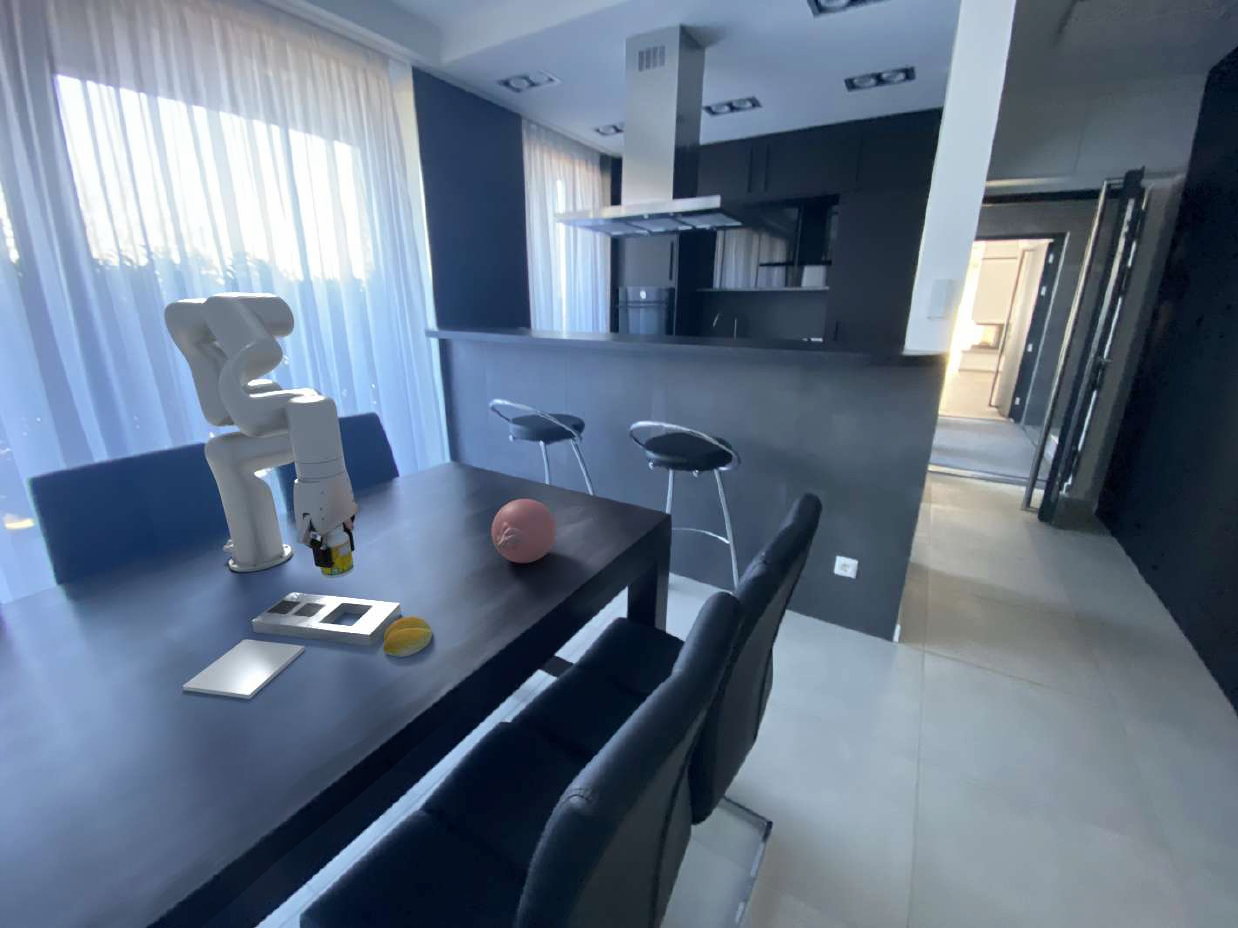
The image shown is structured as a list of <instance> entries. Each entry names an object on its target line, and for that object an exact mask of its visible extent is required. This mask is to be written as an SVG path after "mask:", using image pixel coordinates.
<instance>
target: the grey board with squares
mask: <svg viewBox="0 0 1238 928" xmlns="http://www.w3.org/2000/svg"><path fill="white" fill-rule="evenodd" d="M343 614H353V615H362V617H360V619H358V620H357V621H356V622H355V623H354V624H353V625H352V626H347V625H339V624H333V623H334V622H335V621H337V620H338V619H339V618H340V617H341V616H342V615H343ZM401 615H402V609H401V603H400V602H388V601H380V600H379V601H378V600H371V599H361V598H351V597H341V596H333V595H321V594H313V593H312V594H311V593H303V592H293V591H292V592H290V593H288V594H287V595H286V596H284V597H283V598H282V599H280V600H279V601H278V602H276V603H274V605H272V606H270V607H269V608H268V609H266V610H265V611H263V612H262V613H261V614H260V615H258V616H257V617H255V618H254V619H253V620H251V623H252V629H253V632H254V633H259V634H265V635H266V634H267V635H275V636H282V637H283V636H284V637H294V638H299V639H301V638H302V639H309V640H311V639H312V640H319V641H325V642H326V641H327V642H335V643H336V642H337V643H344V644H354V645H361V646H362V645H363V646H370V647H371V646H372V645H373V644H375V642H376V641H377V640H378V639H379V638H380V637H381V636H382V635H384V634H385V632H386V630H387V628H388V627H389V626H390V625H392V624H393V623H394V622H395V621H397V620H398V618H399V617H400V616H401Z"/></svg>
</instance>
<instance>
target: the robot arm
mask: <svg viewBox="0 0 1238 928" xmlns="http://www.w3.org/2000/svg"><path fill="white" fill-rule="evenodd" d="M163 313H164V314H163V315H164V322H165V323H164V324H165V326H166V329H167V330H168V331H167V332H168V333H169V335H170V337H171V339H172V341H173V343H174V344H175V346H176V347H177V348H178V350H179V351H180V352H181V354H182V356H183V357H184V358H185V360H186V363H187V364H188V367H189V369H190V372H191V377H192V380H193V383H194V388H195V392H196V394H197V395H196V396H197V397H198V402H199V404H200V409H201V411H202V414H203V417H204V419H205V420H206V422H207V423H208V424H209V425H210V426H214V427H218V428H226V427H234V426H236V427H237V428H238V429H239V430H238V431H231V432H226V433H222V434H219V435H215V436H213V437H212V438H210V439H209V440H208V441H207V442H206V444H205V445H204V455H205V458H206V461H207V463H208V465H209V468H210V470H211V472H212V474H213V477H214V478H215V481H216V484H217V488H218V490H219V494H220V497H221V499H220V500H221V503H222V506H223V507H222V508H223V510H224V515H225V518H226V522H227V525H228V530H229V534H230V539H228V540H227V541H226V545H224V546H223V547H222V551H223V552H225V553H226V552H227V553H231V558H230V559H229V560H228V566H229V568H230V570H232V571H235V572H239V573H245V572H246V573H250V572H251V573H252V572H258V571H262V570H267V569H270V568H273V567H276V566H277V565H280V564H283V563H284V562H286V561H287V560H288V559H290V557H291V556H292V555H293V550H292V546H290V545H288V544H285V543H283V538H282V534H281V533H282V532H281V528H280V524H279V519H278V515H277V509H276V505H275V501H274V500H275V499H274V496H273V495H274V494H273V491H272V488H271V486H270V485H269V483H268V482H267V481H266V480H264V479H262V478H260V477H259V476H258V475H256V474H255V473H257V472H259V471H263V470H267V469H271V468H275V467H276V468H277V467H281V466H285V465H289V464H291V463H293V462H294V468H295V474H296V478H297V479H295V480H294V482H293V483H294V484H293V507H294V508H293V509H294V518H295V524H296V530H297V532H298V534H297V536H296V542H297V543H299V544H301V545H302V544H303V545H305V546H307V547H308V548H309V549H312V555H313V561H314V565H315V567H317V568H321V567H324V568H331V567H333V560H332V554H331V548H330V547H327V543H328V532H329V531H330V530H332V529H334V528H335V527H337V526H338V525H340V524H341V523H342V524H343V528H344V530H343V532H346V533H347V534H348V536H349V540H350V546H351V552H352V553H353V552H354V551H355V550H356V547H355V543H354V541H355V540H354V534H353V531H354V530H355V525H354V522H355V520H356V515H357V512H358V510H359V505H358V504H357V503H356V502H355V498H354V496H355V495H354V491H353V487H352V483H351V480H350V479H351V478H350V476H349V474H348V471H347V468H346V463H345V455H344V448H343V443H342V434H341V429H340V422H339V416H338V415H339V414H338V408H337V404H336V401H334V399H333V398H331V397H330V396H327V395H323V394H322V393H321V392H320V391H319V390H317V389H316V388H312V387H311V388H310V387H300V388H292V389H283V387H282V386H281V385H280V384H279V383H278V382H277V381H275V380H272V379H260V378H262V377H264V376H265V375H267V374H269V373H271V372H272V371H274V370H275V369H276V368H277V367H278V366H279V365H280V364H281V362H282V360H283V356H284V355H283V354H284V352H283V349H282V347H281V344H280V343H279V342H278V341H277V339H282V338H286V337H288V336H290V335H291V334H292V333H293V331H294V328H295V318H294V314H293V311H292V309H291V307H290V306H289V305H288V303H287V302H286V301H285V300H284V299H283V298H282V297H280V296H278V295H276V294H272V293H252V292H251V293H247V292H243V293H242V292H223V293H217V294H213V295H211V296H209V297H208V298H190V299H181V300H176V301H172V302H170V303H169V304H167V305H166V307H165V308H164V312H163ZM320 535H321V538H320V541H319V540H317V538H318V536H320Z"/></svg>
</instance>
